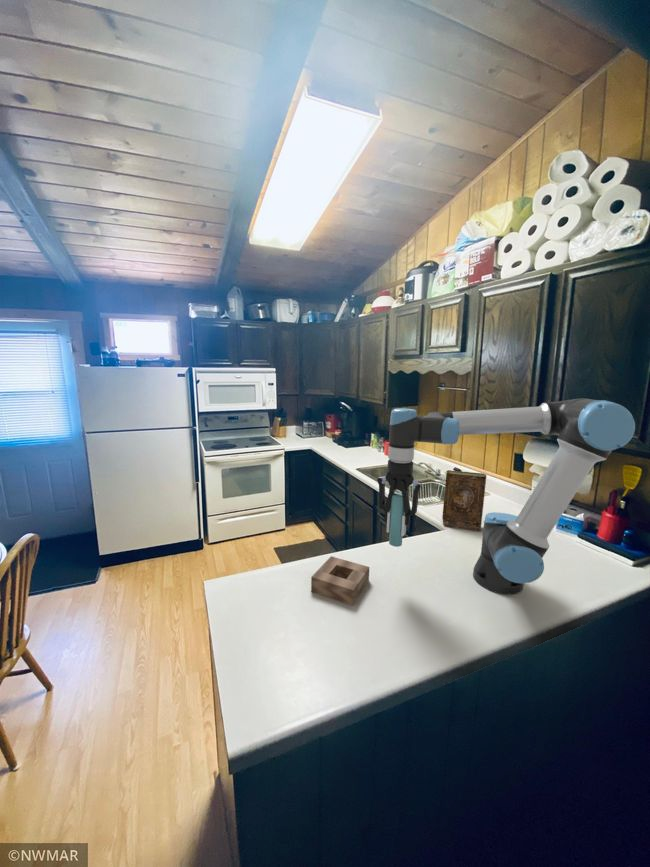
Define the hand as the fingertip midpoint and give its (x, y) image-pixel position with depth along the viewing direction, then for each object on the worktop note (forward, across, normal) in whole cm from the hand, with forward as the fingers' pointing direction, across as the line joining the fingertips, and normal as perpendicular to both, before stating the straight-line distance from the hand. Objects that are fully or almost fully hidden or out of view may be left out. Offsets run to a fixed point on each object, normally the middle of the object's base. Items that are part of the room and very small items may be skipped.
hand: (396, 532), depth 108 cm
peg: (+4, 0, 0) cm, 4 cm away
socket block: (+19, +15, +8) cm, 25 cm away
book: (+19, -15, -60) cm, 64 cm away
